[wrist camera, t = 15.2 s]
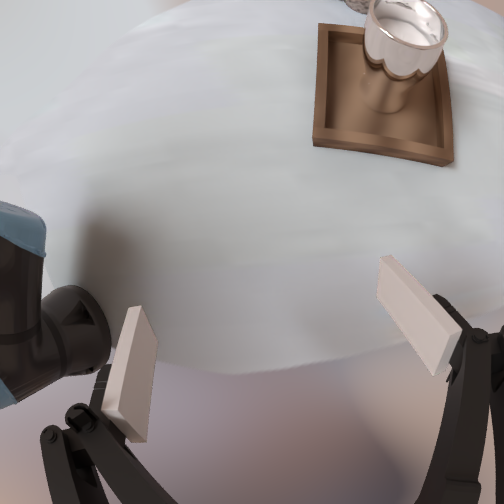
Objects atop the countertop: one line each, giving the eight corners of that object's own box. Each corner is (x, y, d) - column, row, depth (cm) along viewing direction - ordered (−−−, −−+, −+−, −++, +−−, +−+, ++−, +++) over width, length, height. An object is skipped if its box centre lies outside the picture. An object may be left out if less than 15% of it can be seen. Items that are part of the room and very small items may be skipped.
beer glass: (384, 60, 28) (406, -18, 14) (420, 102, 28) (466, 37, 14) (342, 82, 30) (347, 2, 16) (379, 127, 30) (411, 63, 15)
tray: (313, 146, 33) (312, 137, 29) (319, 38, 31) (318, 23, 28) (442, 166, 29) (453, 161, 26) (434, 57, 27) (442, 44, 24)
